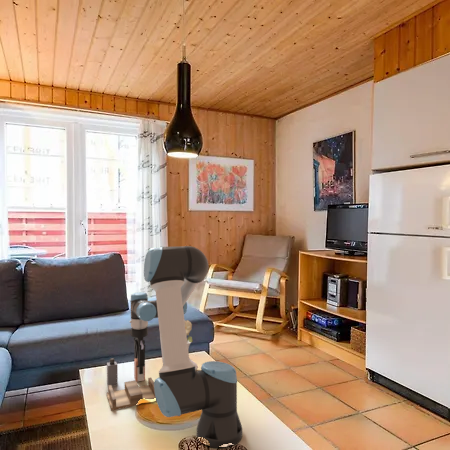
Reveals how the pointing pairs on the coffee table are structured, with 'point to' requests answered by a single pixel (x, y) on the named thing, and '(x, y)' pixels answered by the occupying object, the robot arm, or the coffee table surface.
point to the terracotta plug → (136, 368)
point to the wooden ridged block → (130, 394)
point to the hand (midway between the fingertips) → (139, 378)
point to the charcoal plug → (112, 373)
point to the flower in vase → (188, 329)
